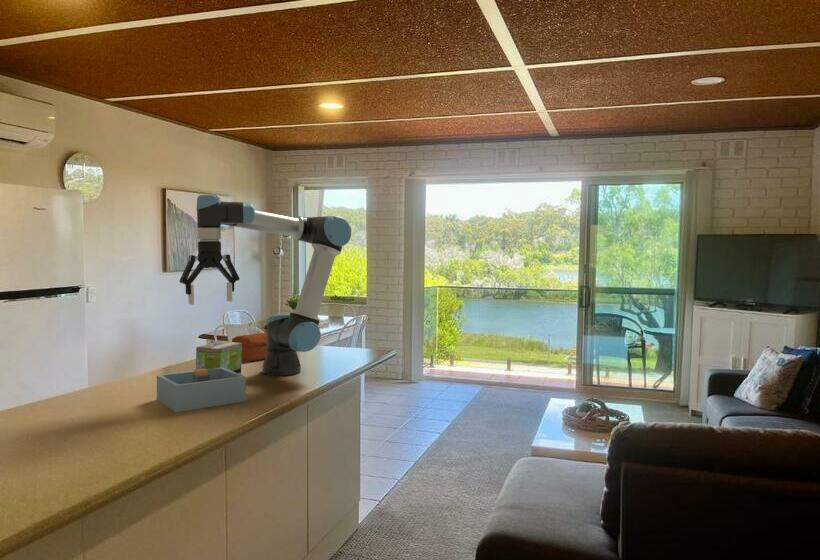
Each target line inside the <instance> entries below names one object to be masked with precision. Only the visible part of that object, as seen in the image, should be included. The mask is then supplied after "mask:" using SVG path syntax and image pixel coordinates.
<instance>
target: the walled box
mask: <svg viewBox="0 0 820 560" xmlns="http://www.w3.org/2000/svg"><path fill="white" fill-rule="evenodd" d="M207 370H208V374H209V375H210V381H202V382H194V383H193V374H194V370H191V371H190V370H188V371H181V372H179V371H178V372H173V373H165V374H164V373H163V374H157V375H156V400H157V401H158V402H159V401H160V403H161V404H163V405H164V406H166V407H167V408H169V409H170V410H171V411H174V412H175V413H180V412H187V411H193V410H199V409H205V408H212V407H218V406H222V405H223V406H224V405H230V404H237V403H243V402H246V400H247V399H246V396H247V395H246V390H247V389H246V386H247V385H246V380H247V379H246V378H247V377H246V376H244V375H242V374H241V375H240V374H238V373H235V372H233V371H231V370H228V369H226V368H223V367H222V368H214V369H207Z"/></svg>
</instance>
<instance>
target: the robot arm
mask: <svg viewBox="0 0 820 560" xmlns="http://www.w3.org/2000/svg"><path fill="white" fill-rule="evenodd" d="M195 209H196V220H197V221H196V222H197V225H196V226H197V240H199V241H198V242H197V253H198V254H197V255H194V254H189V255H188V260H187V263H186V266H185V268H184V270H183V272H182V274H181V277H180V279H179V283H181V284H183V285H184V287H185V295H187V296H188V305H191V306H192V305H195V290H194V289H195V288H194V284H193V282H194V281H195V280H196V278H197V277H198V276H199V275H200V273H201V272H202V270H204V269H217V270H218V271H219V272H220V273H221V274H222V275H223V277H224V278H225V279H226V280H227V281H228V282H226V301H227V302H233V292H235V284H236V282H237V281H240V276H239V274H238V272H237V270H236V268H235V267H234V265H233V262H232V260H231V255H230V254H226V253H225V254H223V255H222V243H221V240H222V234H221V227H222V226H221V225H223V226H224V225H225V226H229V227H235V228H242V229H248V230H253V231H258V232H264V233H271V234H274V235H275V234H276V235H280V236H281V235H282V236H287V237H292V239H293V240H294V241H300V242H303V243H309V244H311V247H312V248H313V251H312V256H311V259H310V262H309V266H308V269H307V272H306V274H305V278H304V281H303V284H302V288H301V291H300V294H299V297H298V300H297V304H296V307H295V309H293V310H291V311H290V313H289V314H274V315H269V316H268V317H267V322H266V332H267V354H266V357H265V359H263V364H262V367H261V368H262V369H261V373H263V374H265V375H268V376H291V375H296V374H299V373H301V371H302V367H301V366H302V365H301V362H300V358H299V355H298V353H299V352H300V353H307V352H310V351H312V350H314V349H315V348H316V347H317V346H318V345H319V343H320V340H321V336H322V335H321V334H322V332H321V330H320V326H319V325H320V322H321V319H320V318H319V315H318V314H319V310H320V307H321V306H322V305H321V304H322V302H323V298H324V294H325V292H326V288H327V285H328V282H329V278H330V275H331V272H332V268H333V265H334V262H335V259H336V257H337V256H338V255H340V254H341V253H342V250H343V247H344V246H346V245H347V244H348V243H349V242H350V240H351V239H352V227H351V226H350V224H349V222H348V220H346V219H345V218H344V217H342V216H340V215H329V216H312V217H309V216H307V217H306V216H300V215H297V216H295V217H292V216H288V215H287V216H286V215H281V214H278V213H277V214H276V213H273V212H272V213H271V212H268V211H267V212H266V211H261V210H257V209H255V207H254V205H253V204H252V203H251V202H244V201H222V200H221V196H219V195H218V194H199V195H198V196H197V198H196V207H195ZM197 261H198V264H197V265H196V268H195V269H194V270H193V268H194V265H195V263H196V262H197ZM222 261H224V263H225V266H226V267H227V269H228V270H227V269H226V268H225V267H224V266H223V264H222V263H221V262H222ZM192 270H193V271H192ZM228 271H229V272H228Z"/></svg>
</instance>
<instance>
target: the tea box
mask: <svg viewBox="0 0 820 560" xmlns="http://www.w3.org/2000/svg"><path fill="white" fill-rule="evenodd" d="M241 360H242V343H234V342H231V341H230V342H229V341H216V342H211V343H207V344H202V345H200V346H196V347H195V369H214V368H222V367H223V368H226V369H228V370H231V371H233V372H235V373H238V374H240V375H242V362H241Z"/></svg>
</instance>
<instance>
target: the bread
mask: <svg viewBox="0 0 820 560" xmlns="http://www.w3.org/2000/svg"><path fill="white" fill-rule="evenodd" d="M230 342H234V343H242V360H241V363H248V362H255V361H260V360H265V357H266V354H267V331H266V332H265V331H264V332H262V333H252V334H243V335H237V336H235V337H233V338H232V339H231V341H230Z"/></svg>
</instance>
